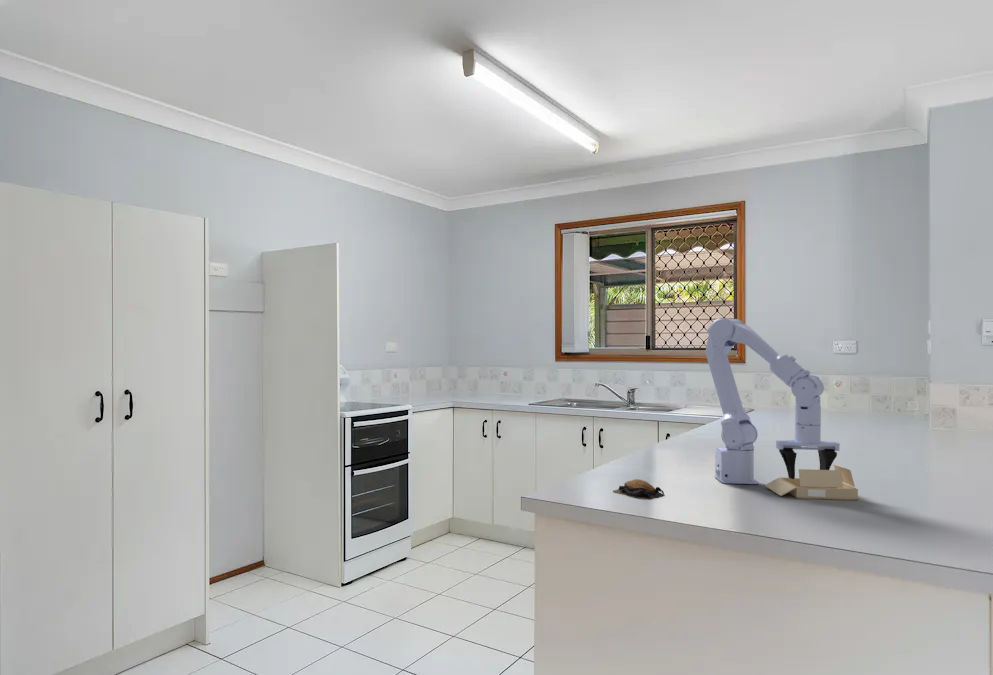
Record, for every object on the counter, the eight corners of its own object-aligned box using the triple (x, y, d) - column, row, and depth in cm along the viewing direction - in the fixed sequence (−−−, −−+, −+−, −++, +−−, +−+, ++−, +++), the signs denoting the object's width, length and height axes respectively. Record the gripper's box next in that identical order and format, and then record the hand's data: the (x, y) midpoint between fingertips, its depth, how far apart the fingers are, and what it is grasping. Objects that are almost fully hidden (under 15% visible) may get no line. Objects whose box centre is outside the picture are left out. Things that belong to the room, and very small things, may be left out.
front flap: (800, 486, 146) (800, 486, 146) (798, 469, 147) (799, 469, 147) (842, 487, 146) (843, 487, 145) (840, 470, 147) (841, 470, 146)
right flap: (849, 470, 147) (850, 470, 147) (833, 464, 155) (834, 463, 155) (853, 486, 147) (855, 486, 147) (837, 479, 155) (838, 479, 155)
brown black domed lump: (610, 494, 150) (610, 479, 150) (630, 489, 156) (630, 474, 156) (648, 502, 142) (648, 486, 142) (668, 496, 148) (668, 481, 148)
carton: (780, 497, 146) (781, 487, 146) (758, 483, 161) (758, 474, 161) (858, 500, 145) (858, 489, 145) (828, 486, 160) (828, 476, 160)
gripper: (784, 425, 149) (783, 481, 149) (845, 427, 148) (845, 483, 148) (773, 422, 156) (772, 475, 156) (831, 423, 155) (831, 476, 155)
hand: (807, 478), depth 152 cm, fingers open, 7 cm apart
